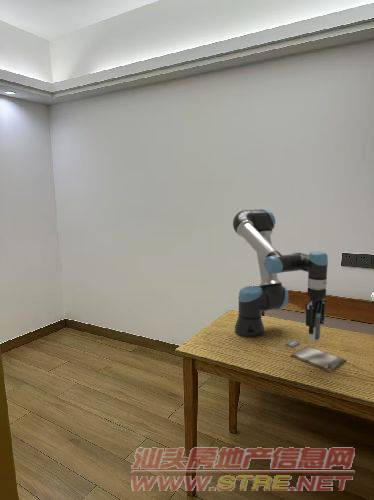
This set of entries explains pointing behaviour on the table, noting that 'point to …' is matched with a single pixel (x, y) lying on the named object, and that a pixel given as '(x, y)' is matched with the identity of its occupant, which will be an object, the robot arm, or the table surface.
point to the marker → (317, 326)
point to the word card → (292, 343)
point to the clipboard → (318, 358)
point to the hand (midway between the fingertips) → (314, 338)
